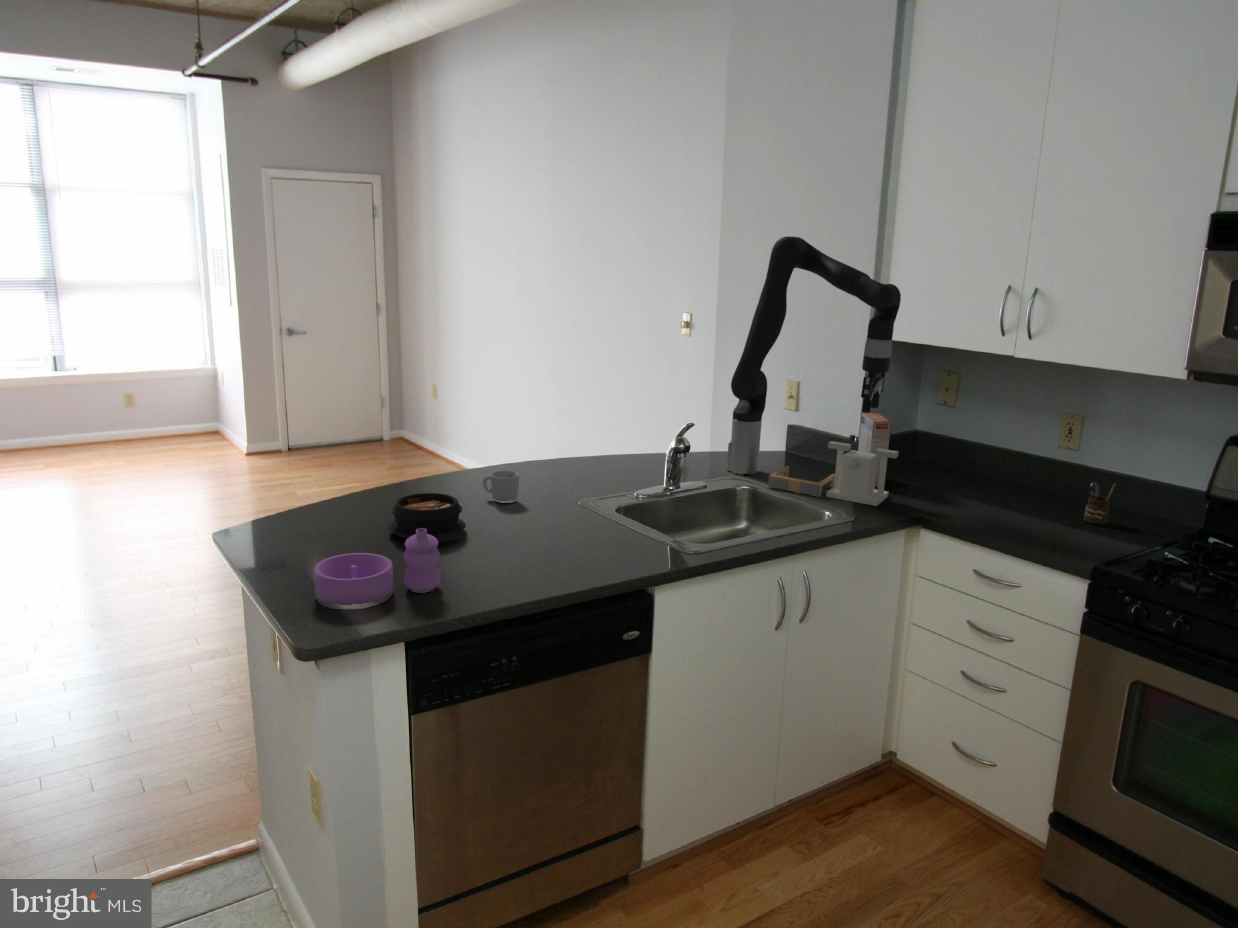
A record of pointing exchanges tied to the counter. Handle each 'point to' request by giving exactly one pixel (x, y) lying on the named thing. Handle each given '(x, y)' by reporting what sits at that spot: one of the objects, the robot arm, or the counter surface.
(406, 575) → the container set
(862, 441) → the cracker box
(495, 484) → the cup
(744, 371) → the robot arm
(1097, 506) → the utensil holder
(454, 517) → the casserole
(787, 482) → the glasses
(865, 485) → the display stand
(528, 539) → the counter surface
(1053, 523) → the counter surface
